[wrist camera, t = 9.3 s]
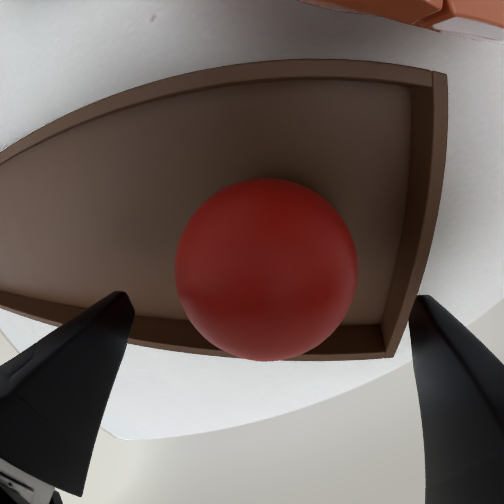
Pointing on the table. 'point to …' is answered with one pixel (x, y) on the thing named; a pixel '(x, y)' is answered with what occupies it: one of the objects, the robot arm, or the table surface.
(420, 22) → the bowl
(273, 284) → the ball
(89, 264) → the tray
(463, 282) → the table surface
